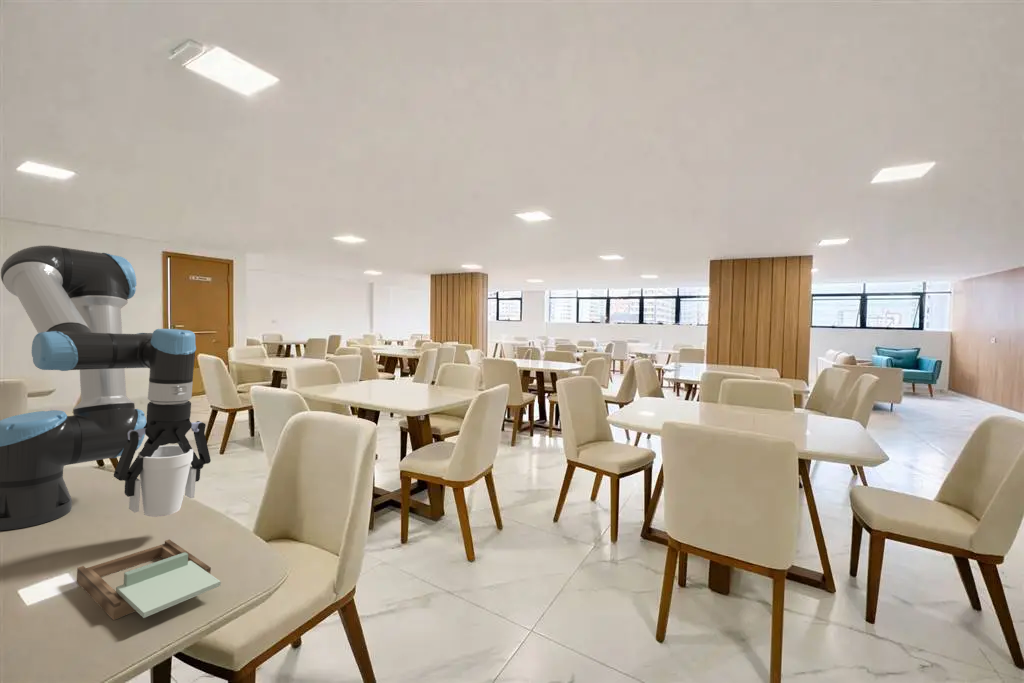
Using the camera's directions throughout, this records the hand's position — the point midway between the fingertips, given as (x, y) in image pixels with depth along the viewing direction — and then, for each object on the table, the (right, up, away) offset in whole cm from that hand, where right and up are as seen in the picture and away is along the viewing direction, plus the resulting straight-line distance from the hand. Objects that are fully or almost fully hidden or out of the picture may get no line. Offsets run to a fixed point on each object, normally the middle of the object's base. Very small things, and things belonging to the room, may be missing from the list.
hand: (162, 502), depth 97 cm
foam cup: (0, -2, 0) cm, 2 cm away
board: (+9, -9, -15) cm, 20 cm away
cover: (+17, -7, -20) cm, 28 cm away
